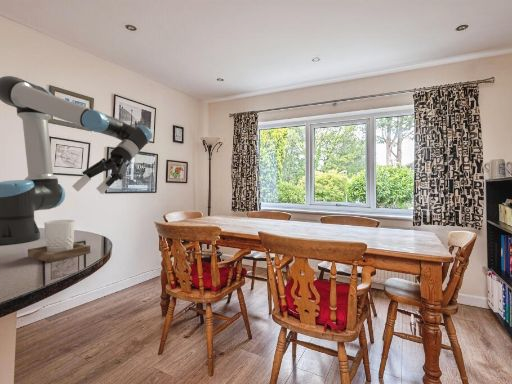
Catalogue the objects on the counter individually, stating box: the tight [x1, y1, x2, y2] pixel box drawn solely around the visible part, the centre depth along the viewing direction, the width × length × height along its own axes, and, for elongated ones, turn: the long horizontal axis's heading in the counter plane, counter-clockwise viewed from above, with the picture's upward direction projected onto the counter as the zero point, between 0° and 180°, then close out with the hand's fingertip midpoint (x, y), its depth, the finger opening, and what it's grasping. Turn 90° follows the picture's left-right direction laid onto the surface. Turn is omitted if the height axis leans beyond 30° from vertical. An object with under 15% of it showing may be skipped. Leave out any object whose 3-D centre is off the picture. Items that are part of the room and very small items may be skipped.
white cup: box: [43, 219, 76, 253], centre depth 87 cm, size 8×8×10 cm
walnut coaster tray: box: [27, 242, 91, 264], centre depth 87 cm, size 12×12×2 cm
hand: (86, 190), depth 98 cm, fingers open, 13 cm apart
